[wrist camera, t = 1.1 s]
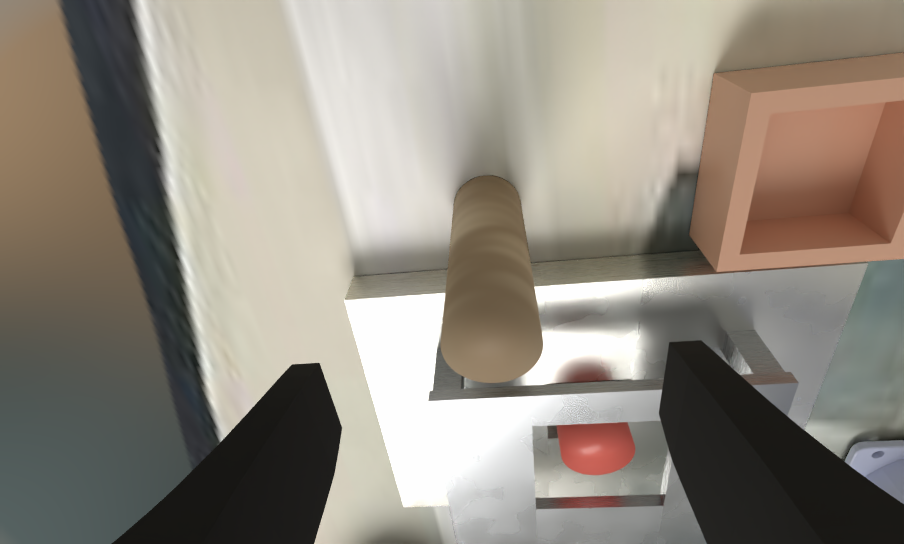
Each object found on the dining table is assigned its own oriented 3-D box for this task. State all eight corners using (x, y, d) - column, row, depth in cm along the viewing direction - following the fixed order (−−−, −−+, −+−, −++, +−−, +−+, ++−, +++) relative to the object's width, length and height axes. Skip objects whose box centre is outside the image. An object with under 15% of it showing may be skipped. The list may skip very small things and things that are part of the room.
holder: (913, 51, 15) (985, 68, 13) (854, 221, 18) (905, 258, 16) (714, 72, 15) (751, 93, 13) (689, 234, 18) (716, 272, 16)
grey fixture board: (839, 239, 18) (932, 314, 14) (762, 467, 25) (811, 557, 21) (353, 276, 20) (324, 351, 16) (407, 479, 27) (396, 563, 23)
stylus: (519, 172, 17) (542, 300, 11) (522, 233, 19) (544, 380, 12) (449, 178, 18) (434, 308, 11) (457, 238, 19) (446, 385, 13)
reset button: (621, 377, 21) (638, 426, 18) (617, 423, 22) (632, 473, 20) (552, 381, 21) (561, 429, 19) (553, 426, 22) (560, 476, 20)
